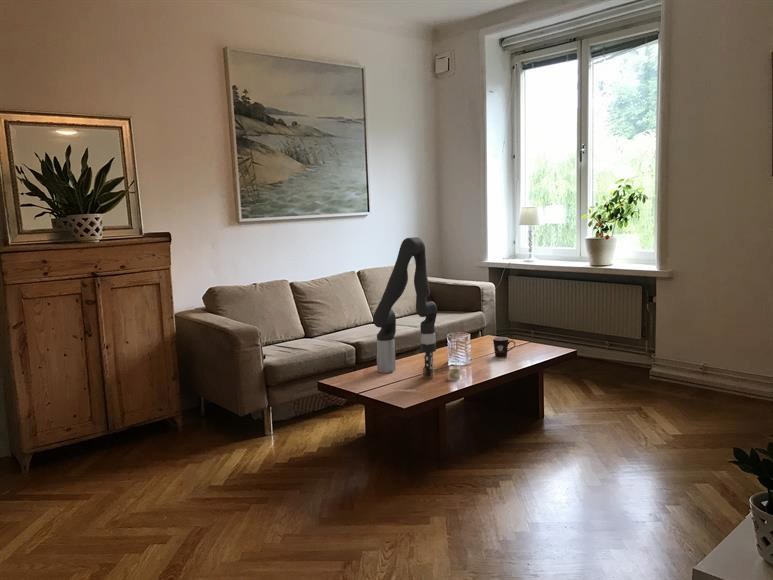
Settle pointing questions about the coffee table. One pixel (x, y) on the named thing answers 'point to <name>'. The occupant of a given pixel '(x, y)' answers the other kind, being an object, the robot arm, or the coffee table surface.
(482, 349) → the coffee table surface
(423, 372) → the walnut cube
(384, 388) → the coffee table surface
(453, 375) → the birch base cube
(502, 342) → the coffee mug
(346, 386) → the coffee table surface
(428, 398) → the coffee table surface
